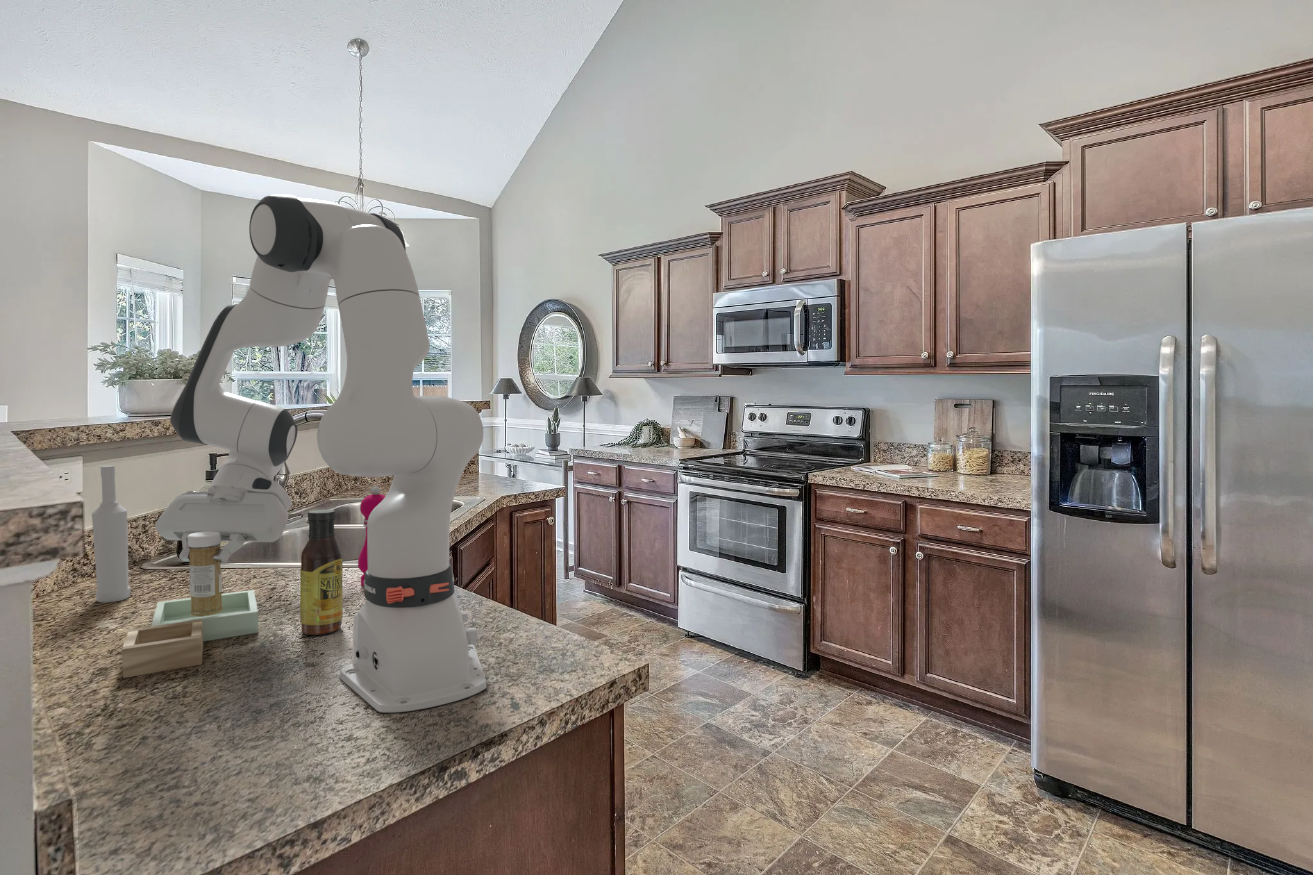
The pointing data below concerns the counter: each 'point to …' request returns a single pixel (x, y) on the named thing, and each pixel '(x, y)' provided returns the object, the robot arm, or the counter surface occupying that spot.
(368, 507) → the pepper mill
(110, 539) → the bottle
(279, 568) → the counter surface
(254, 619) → the sage tray
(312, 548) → the sauce bottle
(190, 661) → the maple holder
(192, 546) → the sprinkles bottle
